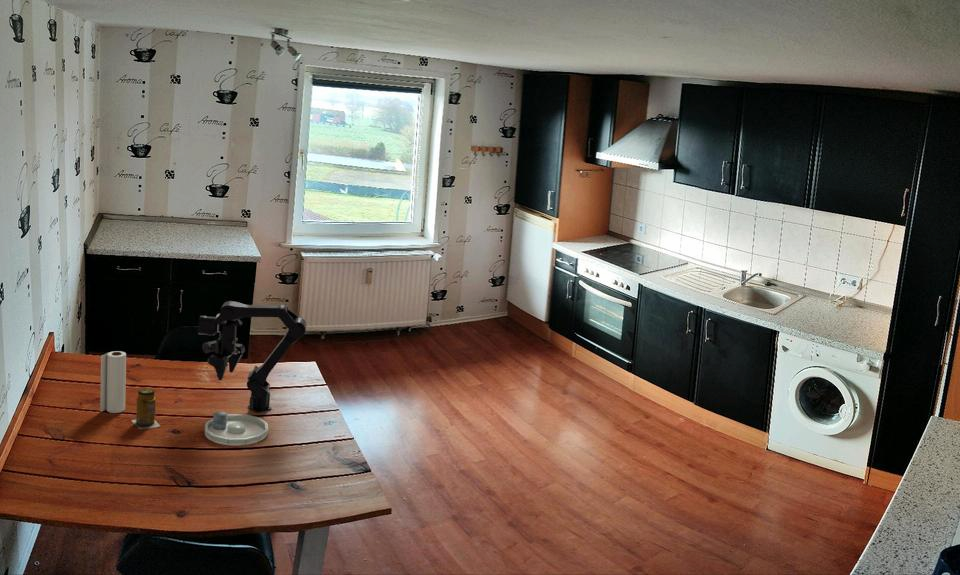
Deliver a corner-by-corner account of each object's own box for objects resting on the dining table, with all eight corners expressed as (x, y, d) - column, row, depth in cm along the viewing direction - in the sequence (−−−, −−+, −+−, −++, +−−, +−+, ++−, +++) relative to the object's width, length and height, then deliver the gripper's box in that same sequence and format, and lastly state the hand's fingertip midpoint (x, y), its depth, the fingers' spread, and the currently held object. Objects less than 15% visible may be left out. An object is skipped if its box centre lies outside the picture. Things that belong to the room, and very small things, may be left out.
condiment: (152, 417, 294) (153, 385, 291) (160, 426, 287) (161, 394, 284) (131, 420, 289) (131, 388, 286) (138, 430, 283) (139, 397, 280)
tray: (246, 415, 304) (247, 410, 304) (279, 436, 291) (279, 430, 290) (193, 428, 289) (193, 422, 288) (224, 450, 275) (225, 444, 275)
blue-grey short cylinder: (222, 423, 293) (222, 410, 292) (228, 428, 291) (229, 415, 289) (210, 426, 290) (211, 413, 289) (217, 431, 287) (217, 417, 286)
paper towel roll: (127, 407, 299) (128, 351, 294) (121, 414, 293) (122, 357, 288) (107, 405, 298) (108, 349, 293) (100, 412, 293) (100, 354, 287)
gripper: (218, 325, 313) (216, 364, 317) (194, 339, 295) (193, 380, 299) (246, 330, 312) (244, 369, 316) (224, 344, 294) (222, 386, 298)
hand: (225, 376), depth 307 cm, fingers open, 9 cm apart
